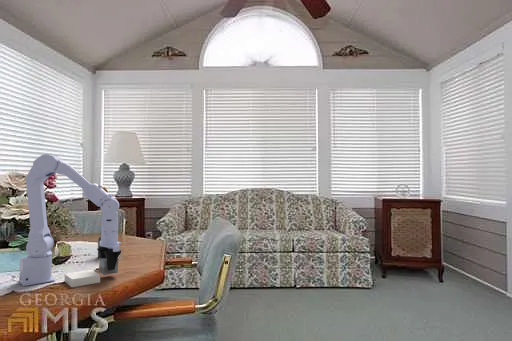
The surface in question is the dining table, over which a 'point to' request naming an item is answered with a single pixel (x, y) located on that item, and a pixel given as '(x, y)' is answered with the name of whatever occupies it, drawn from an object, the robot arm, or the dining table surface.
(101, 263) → the slate block
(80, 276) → the cream base block
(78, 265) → the dining table surface
